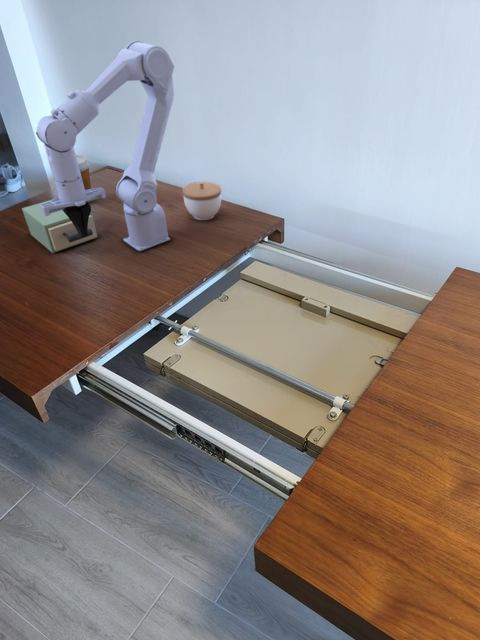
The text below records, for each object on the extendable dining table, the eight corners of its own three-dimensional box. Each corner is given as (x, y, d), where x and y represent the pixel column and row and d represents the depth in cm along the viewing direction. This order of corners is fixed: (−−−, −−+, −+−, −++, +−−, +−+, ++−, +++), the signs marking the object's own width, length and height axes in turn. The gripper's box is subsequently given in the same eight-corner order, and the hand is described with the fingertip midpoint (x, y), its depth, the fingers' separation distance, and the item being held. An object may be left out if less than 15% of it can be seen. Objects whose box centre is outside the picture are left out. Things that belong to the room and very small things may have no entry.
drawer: (105, 242, 121) (100, 221, 117) (63, 257, 115) (57, 236, 111) (75, 221, 130) (69, 201, 126) (35, 234, 124) (28, 213, 120)
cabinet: (97, 237, 124) (91, 210, 120) (52, 253, 118) (43, 225, 113) (74, 220, 132) (67, 195, 127) (30, 234, 125) (21, 208, 121)
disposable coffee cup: (66, 196, 145) (55, 155, 137) (98, 193, 146) (89, 153, 139) (63, 208, 138) (52, 167, 130) (97, 205, 139) (87, 164, 132)
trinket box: (194, 227, 129) (190, 193, 123) (179, 212, 136) (175, 180, 130) (229, 218, 133) (227, 186, 127) (213, 204, 140) (211, 173, 134)
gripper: (42, 192, 96) (61, 251, 105) (106, 174, 104) (119, 230, 113) (28, 182, 100) (48, 240, 109) (91, 165, 108) (104, 221, 117)
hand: (83, 234), depth 111 cm, fingers closed
